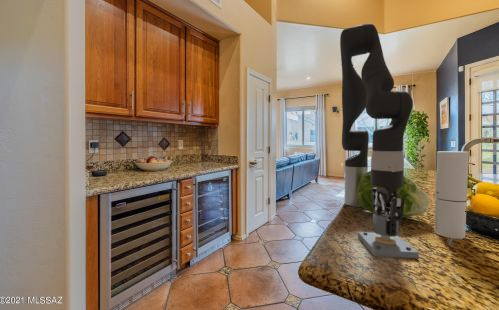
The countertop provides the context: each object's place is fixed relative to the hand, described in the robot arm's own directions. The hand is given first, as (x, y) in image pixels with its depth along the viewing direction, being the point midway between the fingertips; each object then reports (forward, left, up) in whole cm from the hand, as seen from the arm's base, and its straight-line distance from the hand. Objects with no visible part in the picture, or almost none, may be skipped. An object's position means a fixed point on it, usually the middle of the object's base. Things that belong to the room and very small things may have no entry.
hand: (385, 230), depth 64 cm
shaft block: (0, 0, -4) cm, 4 cm away
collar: (0, 0, 0) cm, 0 cm away
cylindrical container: (-11, +23, -5) cm, 26 cm away
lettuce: (-28, +14, -5) cm, 31 cm away
